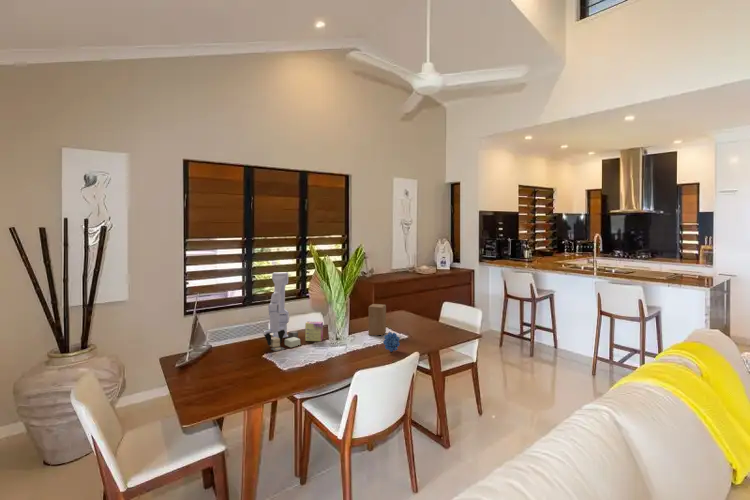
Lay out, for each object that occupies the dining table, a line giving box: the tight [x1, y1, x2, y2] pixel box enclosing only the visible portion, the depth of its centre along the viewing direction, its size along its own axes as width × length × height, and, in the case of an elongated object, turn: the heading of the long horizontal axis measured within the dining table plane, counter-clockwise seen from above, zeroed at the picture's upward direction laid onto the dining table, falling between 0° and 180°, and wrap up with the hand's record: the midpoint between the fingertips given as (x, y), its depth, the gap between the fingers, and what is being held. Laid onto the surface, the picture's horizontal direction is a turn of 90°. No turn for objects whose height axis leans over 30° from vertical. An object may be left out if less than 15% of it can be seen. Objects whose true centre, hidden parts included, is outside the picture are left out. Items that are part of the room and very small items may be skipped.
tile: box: [270, 346, 286, 352], centre depth 228 cm, size 6×6×1 cm
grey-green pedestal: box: [284, 337, 301, 348], centre depth 237 cm, size 7×7×4 cm
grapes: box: [382, 331, 401, 353], centre depth 223 cm, size 12×7×12 cm, turn 121°
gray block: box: [287, 330, 299, 339], centre depth 248 cm, size 4×4×5 cm
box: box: [304, 320, 324, 342], centre depth 247 cm, size 10×6×12 cm, turn 84°
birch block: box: [269, 336, 281, 348], centre depth 234 cm, size 4×4×5 cm
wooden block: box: [367, 303, 387, 336], centre depth 262 cm, size 10×10×20 cm
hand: (274, 343), depth 234 cm, fingers open, 7 cm apart
